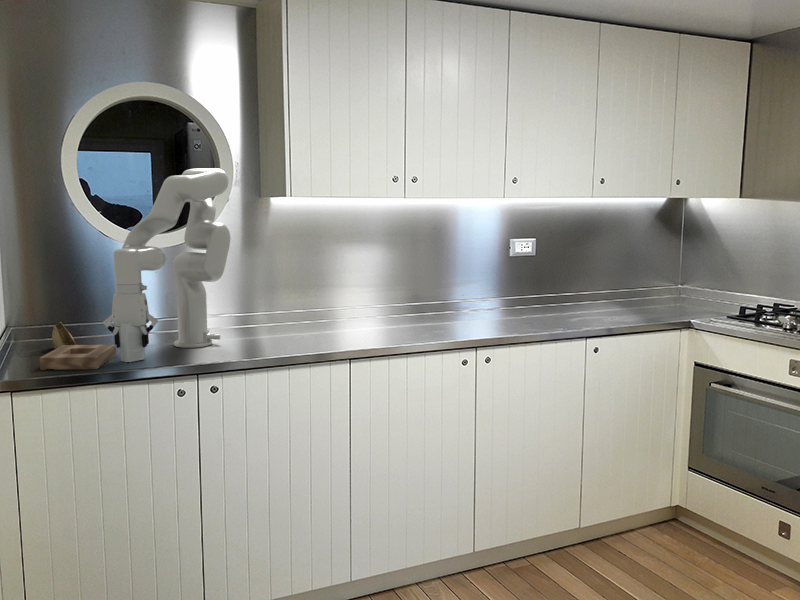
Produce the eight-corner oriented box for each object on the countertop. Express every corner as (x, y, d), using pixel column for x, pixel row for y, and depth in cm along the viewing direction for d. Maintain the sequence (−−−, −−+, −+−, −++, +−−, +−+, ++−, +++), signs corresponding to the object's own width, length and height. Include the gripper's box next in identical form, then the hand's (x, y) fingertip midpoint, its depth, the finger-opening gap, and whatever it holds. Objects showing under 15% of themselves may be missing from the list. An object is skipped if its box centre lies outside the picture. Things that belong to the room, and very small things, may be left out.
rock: (43, 341, 235) (41, 342, 226) (59, 319, 237) (58, 320, 227) (73, 358, 238) (72, 361, 229) (89, 337, 240) (88, 338, 231)
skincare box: (138, 357, 222) (135, 319, 220) (145, 359, 219) (143, 321, 217) (119, 360, 217) (117, 322, 215) (127, 363, 214) (125, 324, 213)
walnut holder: (115, 355, 225) (115, 344, 224) (97, 368, 207) (96, 357, 207) (63, 356, 223) (62, 345, 223) (40, 369, 206) (39, 357, 205)
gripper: (161, 287, 219) (163, 343, 222) (103, 287, 218) (106, 344, 220) (155, 290, 212) (158, 349, 215) (95, 291, 210) (98, 350, 213)
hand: (132, 346), depth 217 cm, fingers closed on skincare box, 7 cm apart
